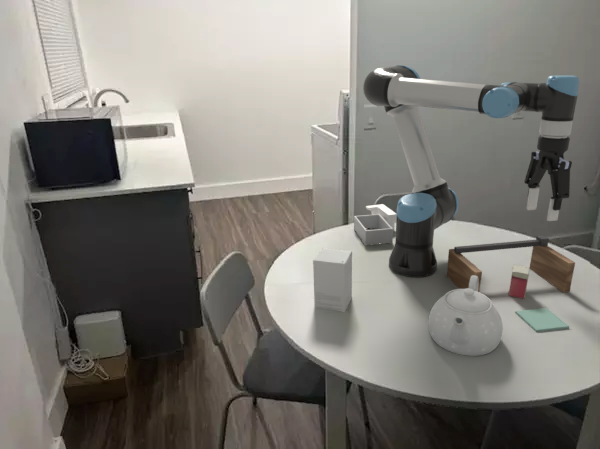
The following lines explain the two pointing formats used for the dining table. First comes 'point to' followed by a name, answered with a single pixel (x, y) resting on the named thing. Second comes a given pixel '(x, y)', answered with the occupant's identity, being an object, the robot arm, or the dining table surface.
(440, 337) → the teapot
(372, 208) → the bracket
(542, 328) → the pad
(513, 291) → the small box
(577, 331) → the dining table surface
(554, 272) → the rack
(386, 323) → the dining table surface
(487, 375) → the dining table surface
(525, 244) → the tie bar
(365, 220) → the box
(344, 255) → the supplement box
